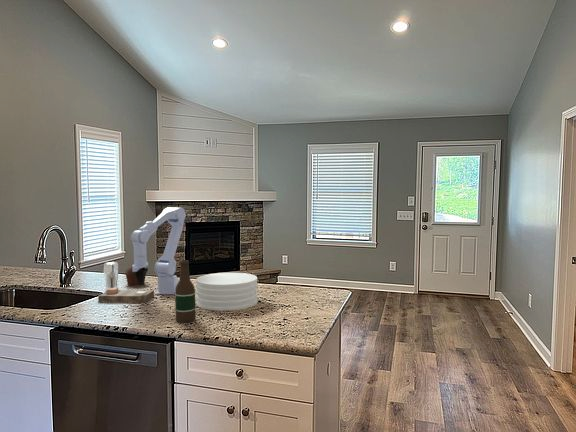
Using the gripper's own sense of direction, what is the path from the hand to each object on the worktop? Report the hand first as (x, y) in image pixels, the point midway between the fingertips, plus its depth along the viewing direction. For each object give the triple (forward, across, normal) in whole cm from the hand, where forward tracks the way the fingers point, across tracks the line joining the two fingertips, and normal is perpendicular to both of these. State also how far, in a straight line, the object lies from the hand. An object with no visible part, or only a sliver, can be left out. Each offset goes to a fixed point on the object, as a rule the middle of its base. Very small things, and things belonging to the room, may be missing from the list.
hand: (141, 284), depth 208 cm
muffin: (+8, -33, -16) cm, 37 cm away
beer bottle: (+8, +33, +31) cm, 46 cm away
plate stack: (+8, +4, +42) cm, 43 cm away
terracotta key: (+5, 0, -14) cm, 15 cm away
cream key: (+7, 0, 0) cm, 7 cm away
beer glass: (+8, -14, -21) cm, 26 cm away
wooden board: (+7, 0, -7) cm, 10 cm away
